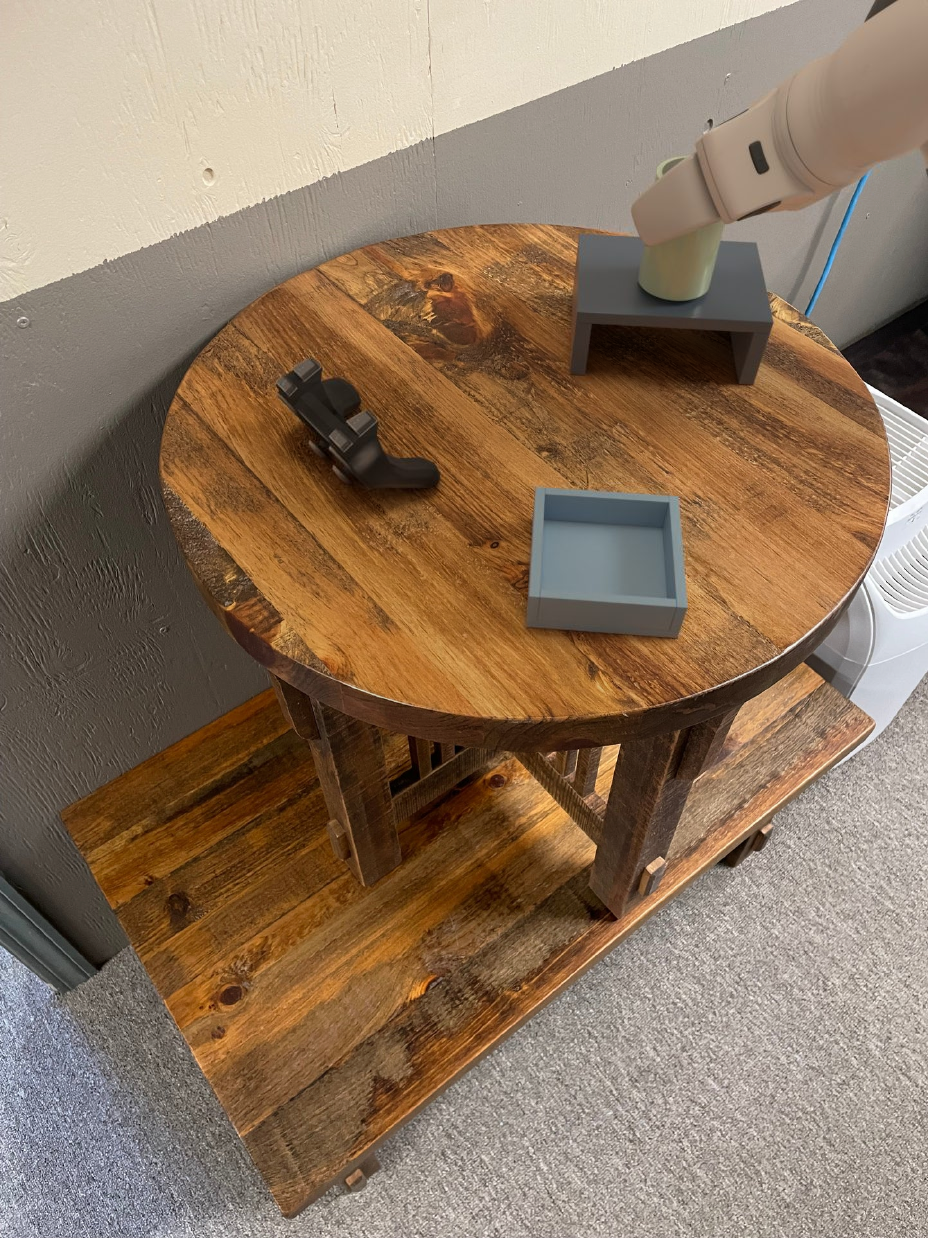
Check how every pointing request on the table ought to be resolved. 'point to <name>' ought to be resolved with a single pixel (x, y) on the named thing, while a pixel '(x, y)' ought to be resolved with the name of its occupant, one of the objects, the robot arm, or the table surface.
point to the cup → (680, 258)
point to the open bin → (606, 563)
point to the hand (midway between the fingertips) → (681, 216)
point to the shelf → (619, 299)
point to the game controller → (349, 431)
